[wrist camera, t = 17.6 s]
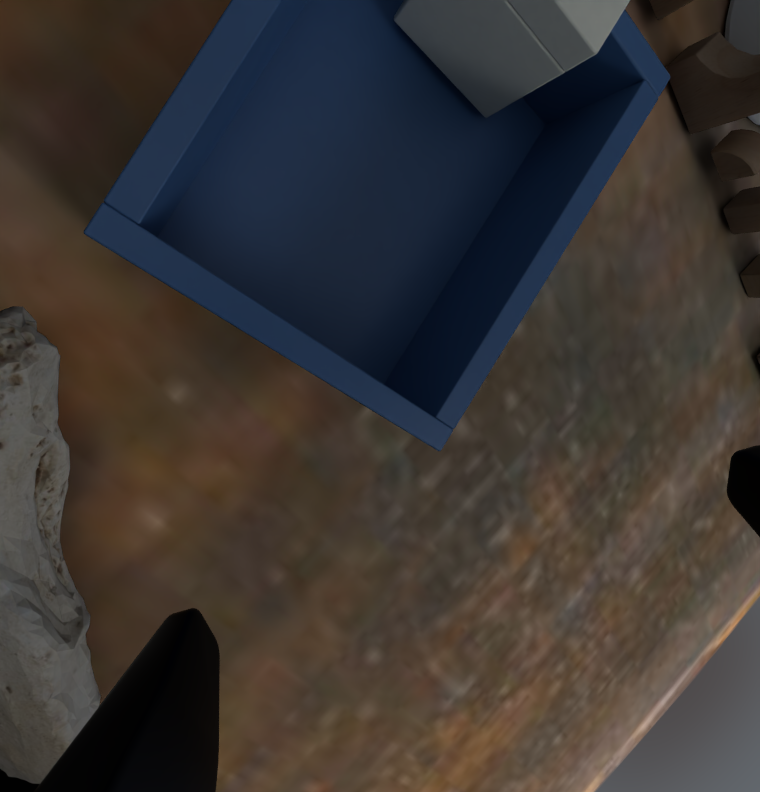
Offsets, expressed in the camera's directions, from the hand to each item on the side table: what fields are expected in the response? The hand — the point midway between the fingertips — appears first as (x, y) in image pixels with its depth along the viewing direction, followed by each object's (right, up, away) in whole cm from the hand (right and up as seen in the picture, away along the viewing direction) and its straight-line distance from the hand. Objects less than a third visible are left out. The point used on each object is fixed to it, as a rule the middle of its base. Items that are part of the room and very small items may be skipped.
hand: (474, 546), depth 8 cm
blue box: (-2, +10, +9) cm, 14 cm away
